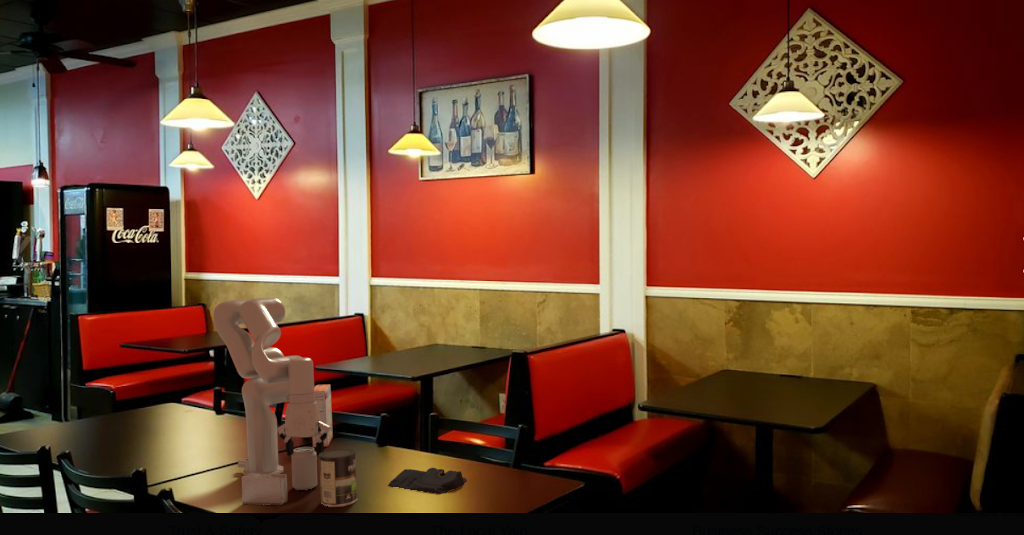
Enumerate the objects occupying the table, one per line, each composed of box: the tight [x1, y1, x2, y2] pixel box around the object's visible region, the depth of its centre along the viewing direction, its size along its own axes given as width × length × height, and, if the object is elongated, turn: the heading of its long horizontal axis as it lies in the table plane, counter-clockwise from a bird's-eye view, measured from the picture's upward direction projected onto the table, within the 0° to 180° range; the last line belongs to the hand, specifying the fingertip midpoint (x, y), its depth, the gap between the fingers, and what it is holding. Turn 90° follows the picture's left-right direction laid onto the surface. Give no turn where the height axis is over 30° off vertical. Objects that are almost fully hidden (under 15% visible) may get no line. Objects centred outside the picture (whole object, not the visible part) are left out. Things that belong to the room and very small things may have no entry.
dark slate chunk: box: [387, 467, 468, 495], centre depth 244 cm, size 15×22×5 cm
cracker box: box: [311, 384, 334, 448], centre depth 299 cm, size 14×6×21 cm, turn 5°
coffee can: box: [318, 448, 358, 508], centre depth 229 cm, size 10×10×14 cm
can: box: [290, 446, 318, 491], centre depth 243 cm, size 8×8×12 cm
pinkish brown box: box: [241, 473, 289, 506], centre depth 230 cm, size 12×4×8 cm, turn 78°
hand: (305, 454), depth 242 cm, fingers open, 9 cm apart
